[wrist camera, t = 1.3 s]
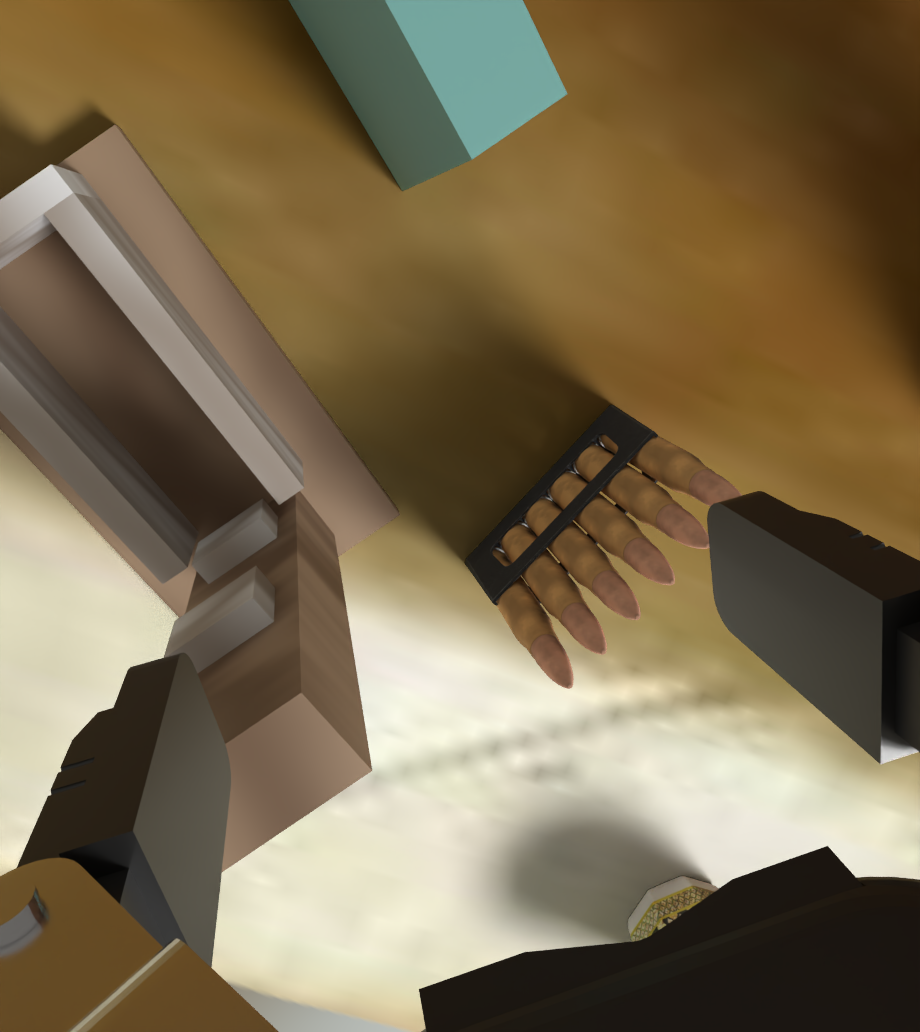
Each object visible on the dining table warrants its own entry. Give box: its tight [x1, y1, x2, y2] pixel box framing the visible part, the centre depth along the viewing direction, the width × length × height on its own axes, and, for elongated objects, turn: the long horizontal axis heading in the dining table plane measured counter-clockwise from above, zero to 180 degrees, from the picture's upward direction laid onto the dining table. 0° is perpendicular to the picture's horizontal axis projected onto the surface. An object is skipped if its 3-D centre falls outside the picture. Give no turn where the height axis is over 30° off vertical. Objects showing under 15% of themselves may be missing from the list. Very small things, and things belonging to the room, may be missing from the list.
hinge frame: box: [0, 125, 400, 872], centre depth 24 cm, size 11×19×18 cm, turn 32°
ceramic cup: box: [628, 876, 718, 942], centre depth 46 cm, size 13×10×10 cm
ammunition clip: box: [465, 405, 742, 689], centre depth 32 cm, size 11×2×12 cm, turn 136°
